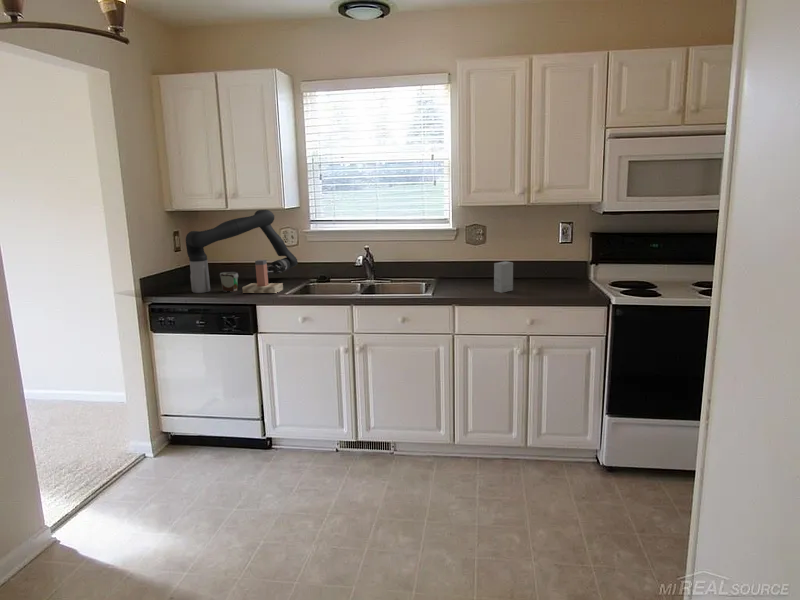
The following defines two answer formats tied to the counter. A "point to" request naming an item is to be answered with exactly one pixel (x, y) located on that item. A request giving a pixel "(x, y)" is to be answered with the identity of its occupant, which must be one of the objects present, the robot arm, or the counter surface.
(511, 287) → the skincare box
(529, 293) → the counter surface
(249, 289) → the beige rectangular block
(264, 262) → the pink tall block
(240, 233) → the robot arm
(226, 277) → the food container
